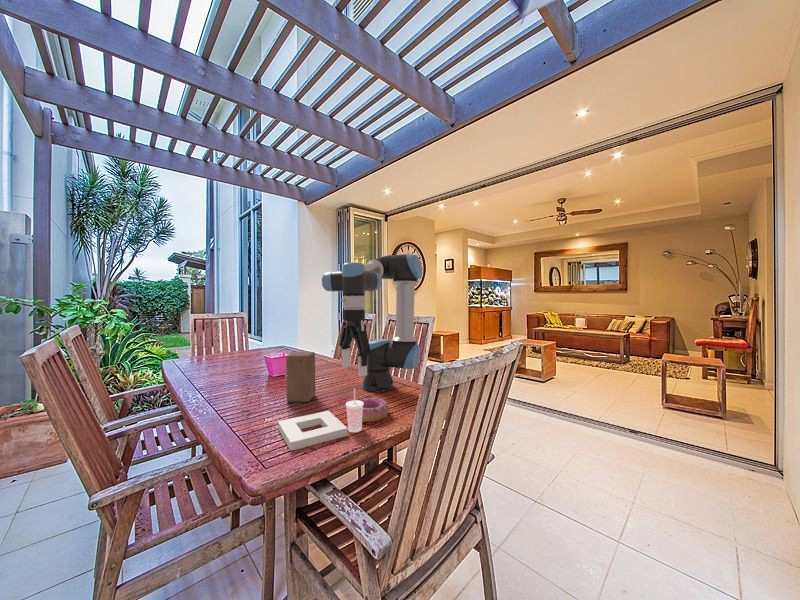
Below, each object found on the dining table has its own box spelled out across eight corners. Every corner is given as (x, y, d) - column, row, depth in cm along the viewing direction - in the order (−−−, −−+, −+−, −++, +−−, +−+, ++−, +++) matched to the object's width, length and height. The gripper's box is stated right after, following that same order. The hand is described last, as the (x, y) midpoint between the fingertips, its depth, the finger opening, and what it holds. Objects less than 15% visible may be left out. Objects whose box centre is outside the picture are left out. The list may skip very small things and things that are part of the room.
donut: (344, 415, 120) (344, 402, 120) (374, 406, 129) (374, 394, 129) (365, 427, 109) (365, 413, 109) (396, 416, 118) (396, 403, 118)
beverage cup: (351, 424, 111) (351, 385, 111) (367, 427, 109) (366, 387, 108) (342, 431, 105) (341, 390, 105) (358, 434, 103) (357, 392, 103)
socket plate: (328, 417, 118) (328, 410, 118) (347, 435, 102) (347, 428, 102) (278, 428, 108) (277, 421, 108) (290, 450, 93) (290, 442, 93)
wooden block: (309, 402, 133) (308, 355, 132) (285, 402, 133) (285, 355, 132) (316, 395, 143) (315, 351, 142) (294, 395, 143) (293, 351, 142)
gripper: (330, 307, 114) (330, 365, 115) (359, 310, 93) (359, 381, 94) (349, 307, 119) (349, 363, 119) (381, 310, 97) (381, 377, 98)
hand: (354, 371), depth 106 cm, fingers open, 13 cm apart
